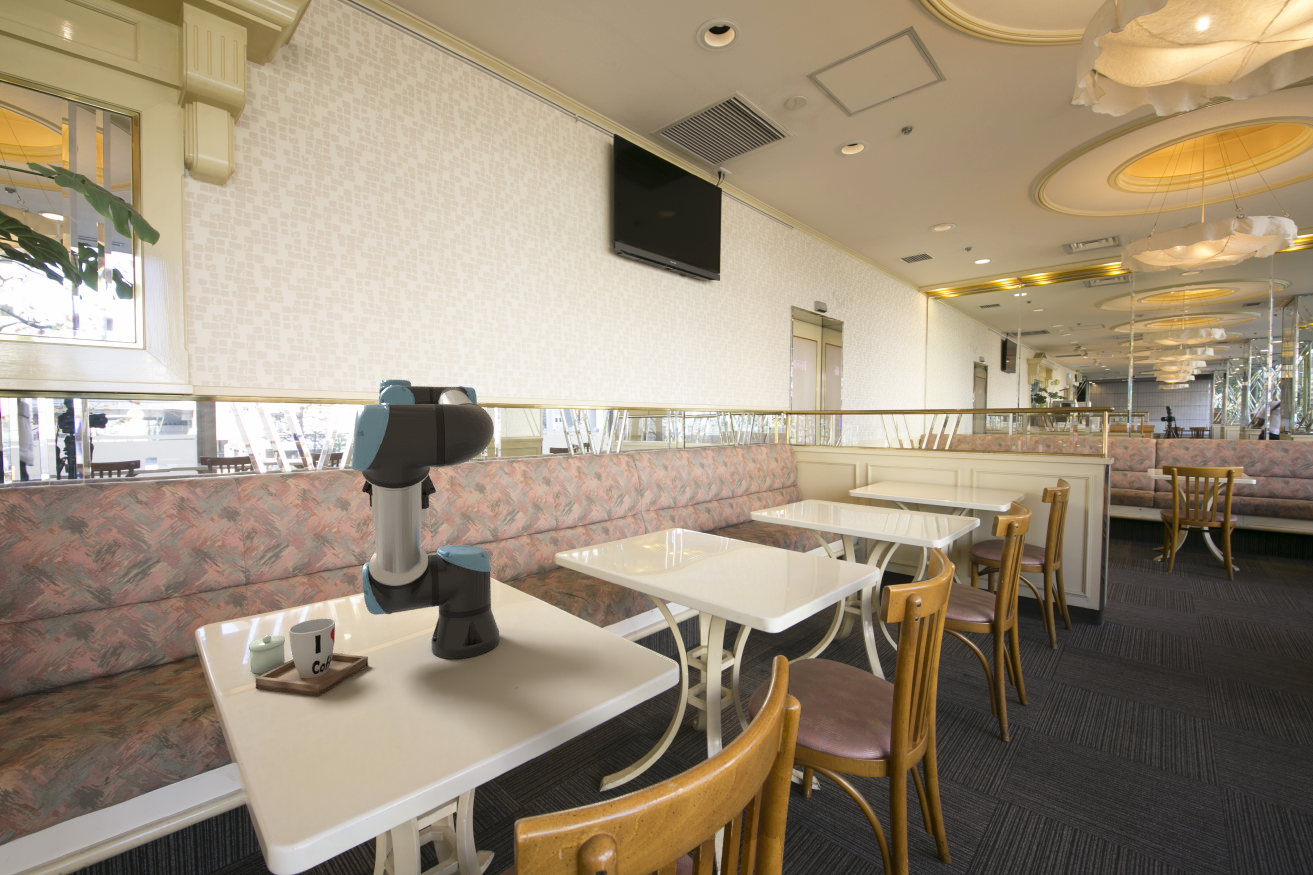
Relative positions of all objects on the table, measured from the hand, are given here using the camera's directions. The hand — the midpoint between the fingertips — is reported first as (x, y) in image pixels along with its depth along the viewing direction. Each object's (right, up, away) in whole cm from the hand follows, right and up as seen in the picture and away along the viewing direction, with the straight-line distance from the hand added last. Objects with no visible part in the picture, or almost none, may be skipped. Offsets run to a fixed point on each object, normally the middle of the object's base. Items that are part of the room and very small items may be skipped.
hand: (399, 520), depth 143 cm
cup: (-4, -28, -29) cm, 40 cm away
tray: (-4, -28, -29) cm, 41 cm away
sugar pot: (-17, -28, -25) cm, 41 cm away
